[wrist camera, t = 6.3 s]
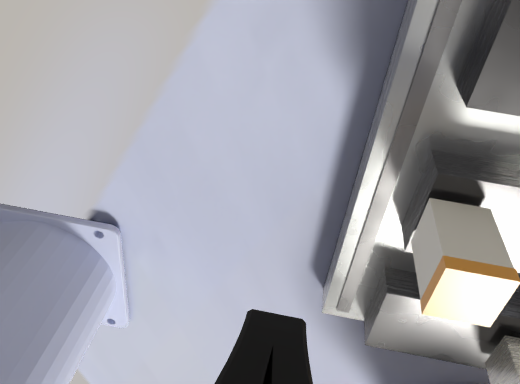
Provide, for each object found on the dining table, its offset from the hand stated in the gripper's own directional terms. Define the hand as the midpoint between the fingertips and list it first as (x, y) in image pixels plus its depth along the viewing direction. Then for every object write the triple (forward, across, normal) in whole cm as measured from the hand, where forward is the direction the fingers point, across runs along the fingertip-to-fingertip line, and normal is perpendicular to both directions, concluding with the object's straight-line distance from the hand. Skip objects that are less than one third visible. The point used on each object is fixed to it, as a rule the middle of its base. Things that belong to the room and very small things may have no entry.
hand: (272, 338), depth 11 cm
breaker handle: (+6, -5, 0) cm, 8 cm away
